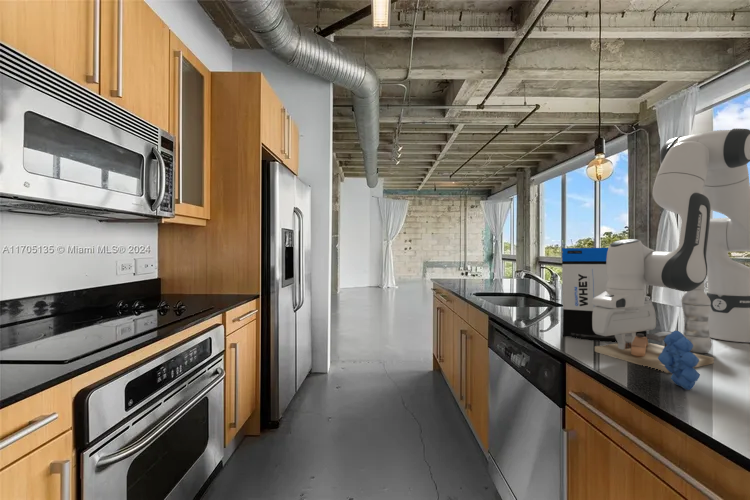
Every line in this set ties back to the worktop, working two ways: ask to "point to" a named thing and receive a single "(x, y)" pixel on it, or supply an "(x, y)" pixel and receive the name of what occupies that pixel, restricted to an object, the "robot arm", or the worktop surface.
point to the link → (639, 346)
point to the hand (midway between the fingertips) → (625, 348)
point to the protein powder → (583, 291)
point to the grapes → (680, 360)
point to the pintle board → (647, 353)
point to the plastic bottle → (697, 319)
